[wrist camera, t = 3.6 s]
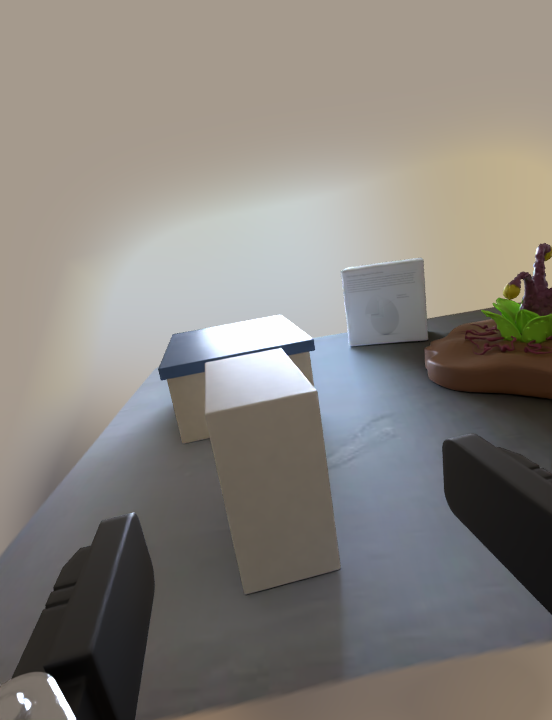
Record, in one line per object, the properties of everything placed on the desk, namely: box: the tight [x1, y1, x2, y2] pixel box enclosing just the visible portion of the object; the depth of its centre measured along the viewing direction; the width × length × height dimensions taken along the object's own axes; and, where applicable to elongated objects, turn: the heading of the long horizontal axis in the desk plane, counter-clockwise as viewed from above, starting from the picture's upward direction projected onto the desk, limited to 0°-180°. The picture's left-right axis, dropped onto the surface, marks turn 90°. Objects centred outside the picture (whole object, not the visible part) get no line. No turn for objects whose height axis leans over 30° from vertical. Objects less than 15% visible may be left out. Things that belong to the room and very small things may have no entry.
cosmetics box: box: [341, 258, 428, 346], centre depth 55 cm, size 10×6×10 cm, turn 73°
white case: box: [205, 348, 341, 595], centre depth 21 cm, size 5×8×9 cm, turn 10°
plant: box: [424, 243, 552, 399], centre depth 37 cm, size 20×20×11 cm
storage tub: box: [158, 315, 315, 444], centre depth 40 cm, size 13×15×7 cm
